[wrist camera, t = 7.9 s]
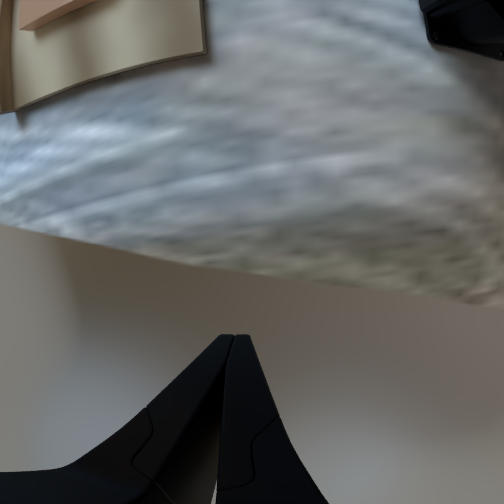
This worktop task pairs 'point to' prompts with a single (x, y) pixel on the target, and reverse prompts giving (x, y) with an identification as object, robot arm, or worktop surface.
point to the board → (92, 45)
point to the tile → (45, 11)
